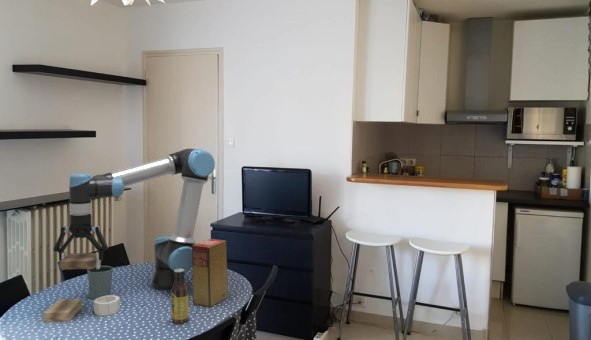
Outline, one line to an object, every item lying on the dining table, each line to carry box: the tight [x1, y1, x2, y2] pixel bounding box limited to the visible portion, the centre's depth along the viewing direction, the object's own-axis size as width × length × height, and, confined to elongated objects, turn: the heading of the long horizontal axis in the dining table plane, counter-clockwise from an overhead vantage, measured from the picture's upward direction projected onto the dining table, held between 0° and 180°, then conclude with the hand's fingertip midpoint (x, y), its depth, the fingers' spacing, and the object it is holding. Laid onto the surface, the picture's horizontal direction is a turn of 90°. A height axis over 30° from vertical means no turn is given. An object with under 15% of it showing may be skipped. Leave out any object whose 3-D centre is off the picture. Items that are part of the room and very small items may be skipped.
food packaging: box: [192, 238, 229, 308], centre depth 193 cm, size 13×9×25 cm
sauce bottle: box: [170, 269, 190, 324], centre depth 172 cm, size 6×6×20 cm
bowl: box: [93, 294, 121, 317], centre depth 181 cm, size 9×9×5 cm
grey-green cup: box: [86, 265, 114, 300], centre depth 199 cm, size 10×10×12 cm
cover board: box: [58, 252, 103, 270], centre depth 178 cm, size 12×12×3 cm
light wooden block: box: [43, 298, 83, 323], centre depth 178 cm, size 9×14×4 cm, turn 7°
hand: (81, 268), depth 178 cm, fingers closed on cover board, 12 cm apart
